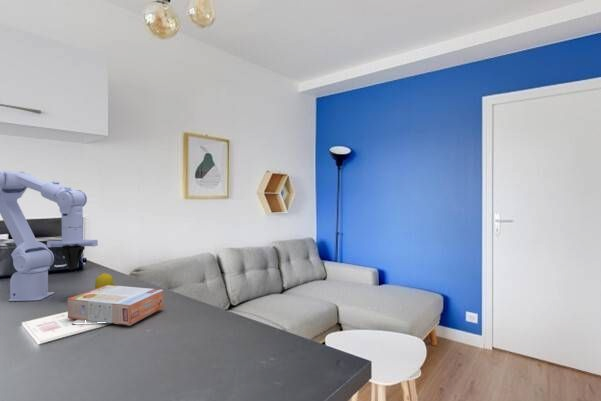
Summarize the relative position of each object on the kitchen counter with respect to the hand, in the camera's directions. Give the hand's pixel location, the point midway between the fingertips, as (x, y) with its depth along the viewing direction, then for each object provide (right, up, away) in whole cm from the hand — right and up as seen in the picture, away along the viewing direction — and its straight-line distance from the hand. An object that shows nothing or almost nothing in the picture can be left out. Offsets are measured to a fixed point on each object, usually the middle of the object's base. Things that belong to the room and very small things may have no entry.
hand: (73, 268), depth 110 cm
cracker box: (+11, -7, -10) cm, 17 cm away
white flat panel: (+18, -11, -10) cm, 23 cm away
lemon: (+7, -11, +5) cm, 14 cm away
